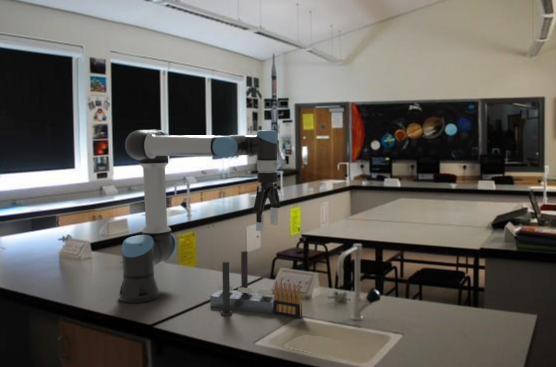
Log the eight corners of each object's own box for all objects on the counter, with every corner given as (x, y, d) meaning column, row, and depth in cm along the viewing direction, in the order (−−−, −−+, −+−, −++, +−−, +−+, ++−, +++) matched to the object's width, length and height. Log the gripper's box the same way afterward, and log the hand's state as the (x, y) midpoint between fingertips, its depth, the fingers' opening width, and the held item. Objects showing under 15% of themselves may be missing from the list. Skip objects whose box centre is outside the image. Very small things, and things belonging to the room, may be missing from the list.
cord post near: (218, 315, 190) (218, 263, 188) (223, 311, 194) (223, 260, 192) (229, 316, 189) (228, 264, 187) (233, 312, 192) (233, 261, 190)
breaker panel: (210, 306, 199) (210, 295, 199) (220, 299, 208) (220, 288, 207) (271, 313, 191) (271, 302, 191) (279, 305, 200) (279, 295, 199)
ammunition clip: (302, 317, 188) (302, 283, 187) (300, 318, 186) (300, 285, 185) (275, 312, 193) (275, 279, 192) (272, 313, 191) (272, 280, 190)
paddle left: (217, 290, 200) (218, 285, 200) (223, 290, 204) (223, 285, 205) (226, 290, 198) (227, 286, 199) (231, 291, 203) (232, 286, 203)
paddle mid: (237, 292, 197) (238, 287, 197) (242, 292, 202) (243, 287, 202) (246, 293, 196) (247, 288, 196) (251, 293, 200) (252, 288, 201)
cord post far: (238, 300, 206) (237, 252, 204) (242, 297, 209) (241, 250, 207) (247, 301, 205) (246, 252, 203) (250, 298, 208) (250, 250, 206)
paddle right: (258, 294, 194) (258, 289, 195) (262, 294, 199) (263, 289, 199) (267, 295, 193) (267, 290, 194) (271, 295, 198) (272, 290, 198)
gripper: (263, 174, 188) (263, 234, 191) (288, 169, 212) (288, 222, 214) (243, 174, 191) (243, 232, 194) (270, 168, 214) (270, 221, 217)
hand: (267, 227), depth 204 cm, fingers open, 13 cm apart
